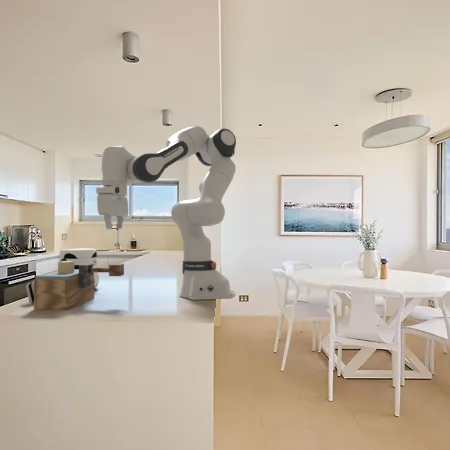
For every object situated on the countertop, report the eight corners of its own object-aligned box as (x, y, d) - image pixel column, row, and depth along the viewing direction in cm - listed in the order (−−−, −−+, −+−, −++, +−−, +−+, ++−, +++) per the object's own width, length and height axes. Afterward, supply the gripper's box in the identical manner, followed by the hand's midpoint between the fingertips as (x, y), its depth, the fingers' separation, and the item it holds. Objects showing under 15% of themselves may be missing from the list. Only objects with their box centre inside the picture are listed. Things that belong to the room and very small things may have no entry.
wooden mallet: (123, 274, 130) (123, 263, 130) (119, 276, 126) (119, 265, 126) (95, 274, 131) (94, 263, 131) (90, 276, 127) (90, 264, 127)
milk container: (106, 287, 163) (106, 248, 163) (82, 294, 147) (82, 251, 147) (75, 285, 168) (75, 248, 168) (47, 292, 151) (47, 250, 151)
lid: (93, 275, 139) (93, 259, 139) (67, 282, 120) (67, 264, 120) (65, 274, 140) (65, 259, 140) (35, 282, 120) (35, 264, 120)
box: (101, 297, 139) (101, 261, 139) (76, 309, 119) (76, 267, 119) (64, 297, 140) (64, 261, 140) (33, 309, 120) (33, 267, 120)
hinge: (42, 303, 129) (33, 277, 129) (30, 308, 129) (21, 282, 129) (66, 295, 145) (59, 272, 146) (56, 298, 146) (48, 275, 146)
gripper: (116, 193, 139) (116, 228, 139) (93, 187, 119) (93, 228, 119) (132, 193, 139) (132, 228, 139) (112, 187, 118) (112, 228, 118)
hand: (114, 228), depth 128 cm, fingers open, 8 cm apart
